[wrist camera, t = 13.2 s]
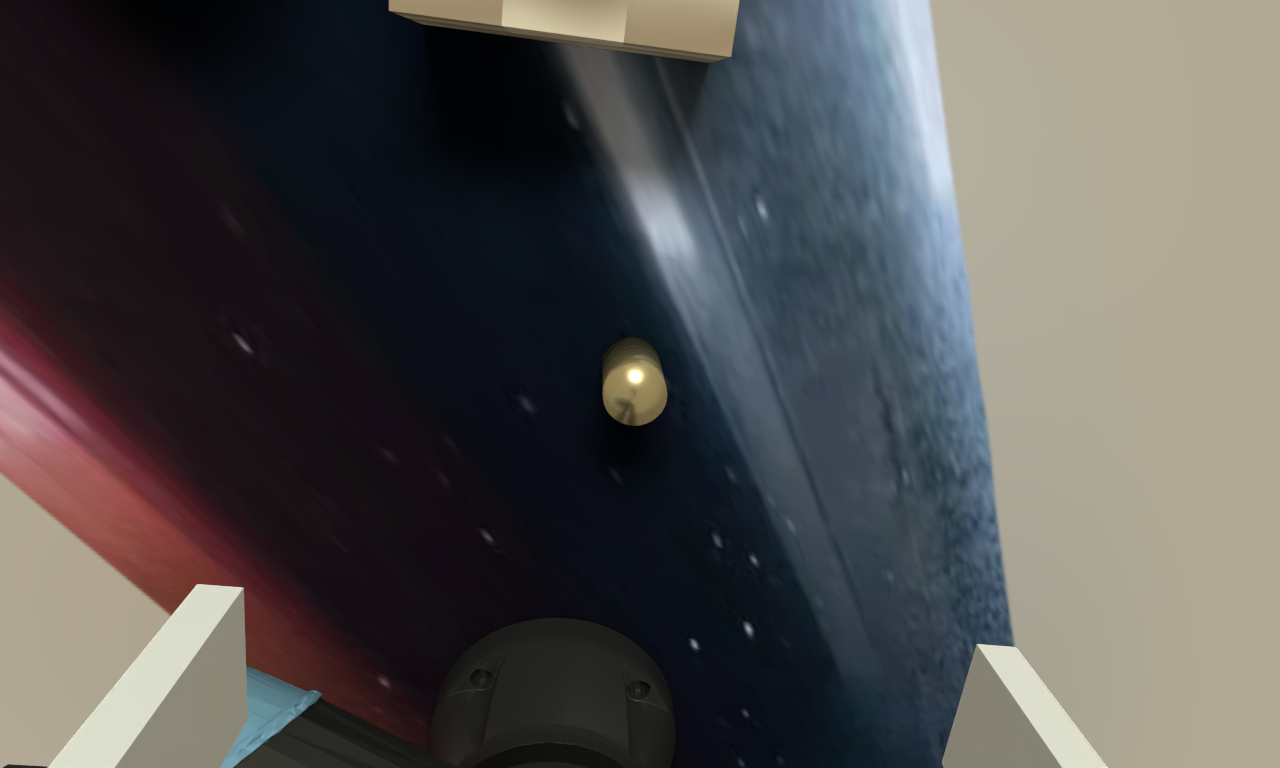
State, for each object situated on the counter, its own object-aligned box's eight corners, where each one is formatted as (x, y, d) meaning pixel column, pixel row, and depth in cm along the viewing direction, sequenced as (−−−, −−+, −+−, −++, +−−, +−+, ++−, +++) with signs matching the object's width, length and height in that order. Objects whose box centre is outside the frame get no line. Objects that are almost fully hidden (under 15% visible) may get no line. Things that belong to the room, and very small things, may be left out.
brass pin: (656, 395, 47) (662, 428, 42) (599, 389, 47) (599, 422, 42) (663, 340, 46) (671, 368, 41) (605, 334, 46) (606, 361, 41)
